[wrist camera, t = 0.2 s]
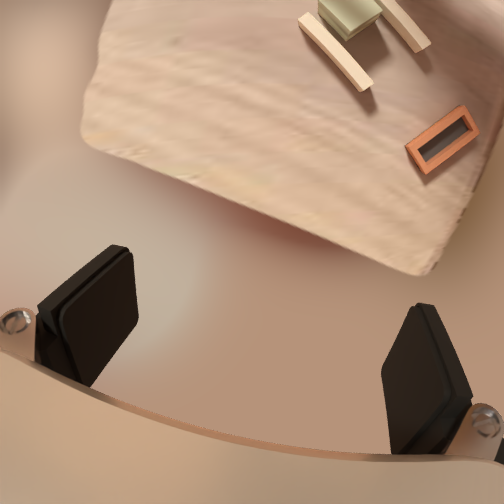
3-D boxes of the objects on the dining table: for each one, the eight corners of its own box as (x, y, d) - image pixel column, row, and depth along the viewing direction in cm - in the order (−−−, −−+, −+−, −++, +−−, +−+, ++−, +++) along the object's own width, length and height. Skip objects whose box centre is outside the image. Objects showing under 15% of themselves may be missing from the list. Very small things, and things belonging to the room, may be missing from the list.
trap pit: (459, 105, 30) (465, 105, 28) (474, 131, 30) (480, 133, 29) (404, 145, 34) (408, 147, 32) (421, 171, 34) (425, 174, 33)
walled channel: (364, -17, 25) (368, -26, 23) (423, 47, 28) (431, 43, 25) (298, 26, 30) (297, 19, 27) (359, 92, 32) (363, 90, 29)
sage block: (347, -6, 27) (351, -21, 22) (375, 22, 28) (383, 10, 23) (317, 13, 29) (318, -1, 24) (345, 41, 30) (350, 31, 25)
